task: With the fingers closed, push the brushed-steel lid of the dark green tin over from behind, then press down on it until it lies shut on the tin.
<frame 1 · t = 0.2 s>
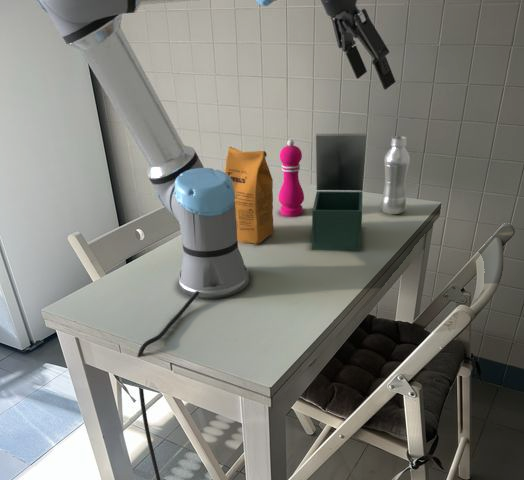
hand: (375, 80, 122), 35 cm above the table, tool tilted 30°, fingers open, 13 cm apart
pepper mill: (291, 213, 152), on the table
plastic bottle: (392, 213, 148), on the table
tin: (336, 238, 135), on the table
coffee package: (249, 236, 139), on the table
lid: (340, 163, 129), point 17 cm above the table, hinge at 70.0°
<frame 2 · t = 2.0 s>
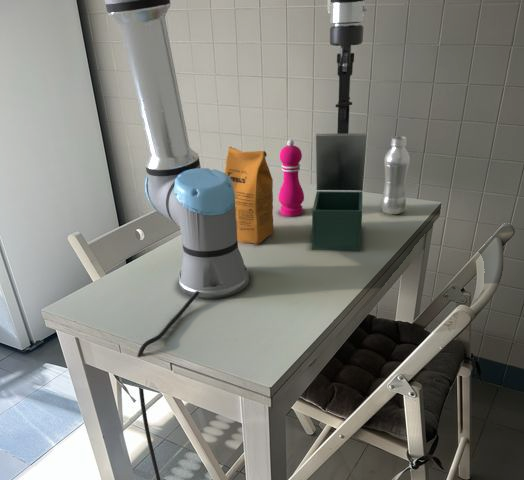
hand: (342, 134, 133), 22 cm above the table, tool pointing down, fingers closed
nothing on the table moved.
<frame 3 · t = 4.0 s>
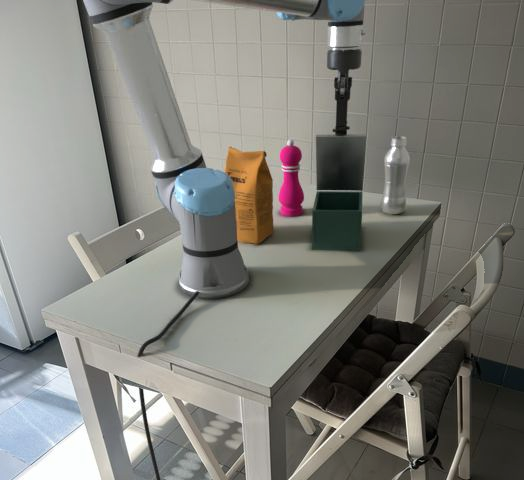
hand: (339, 159, 129), 18 cm above the table, tool pointing down, fingers closed
lid: (340, 163, 129), point 17 cm above the table, hinge at 68.4°, touching gripper
everything else where it was.
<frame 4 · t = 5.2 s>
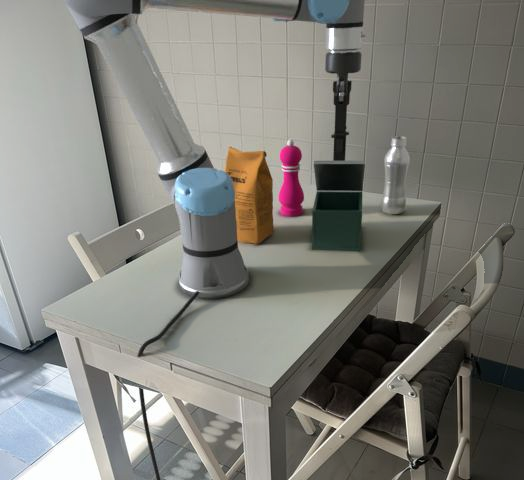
hand: (338, 165, 124), 18 cm above the table, tool pointing down, fingers closed
lid: (339, 176, 128), point 15 cm above the table, hinge at 40.0°
everything else where it was.
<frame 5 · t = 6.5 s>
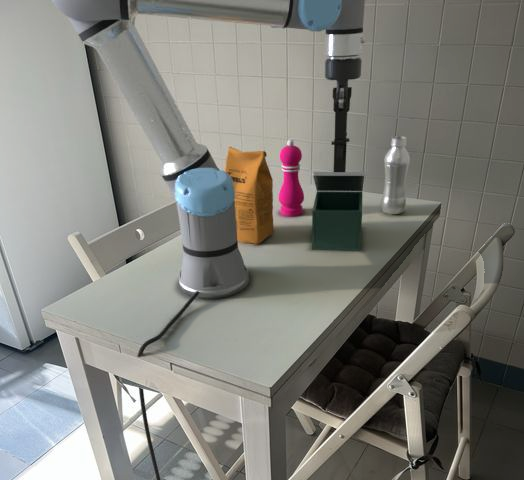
hand: (339, 172, 123), 17 cm above the table, tool pointing down, fingers closed
lid: (339, 182, 128), point 14 cm above the table, hinge at 30.0°
everything else where it was.
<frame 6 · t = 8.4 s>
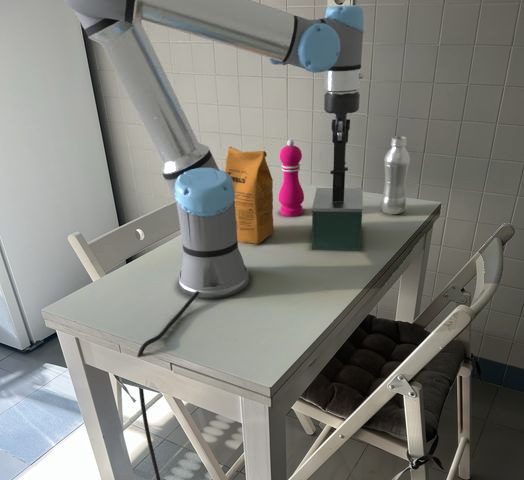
hand: (338, 200, 126), 11 cm above the table, tool pointing down, fingers closed
lid: (338, 199, 129), point 10 cm above the table, hinge at 0.1°, touching gripper
everything else where it was.
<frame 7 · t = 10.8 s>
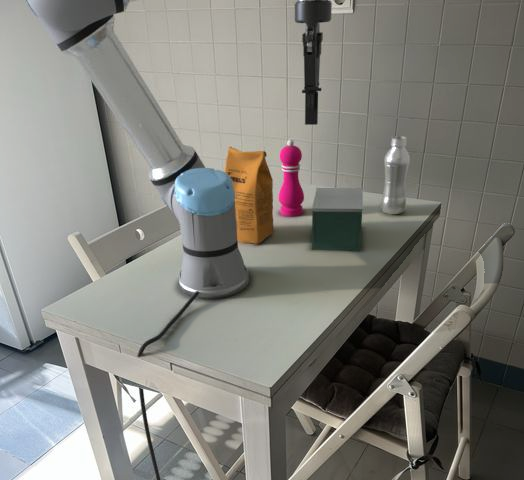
hand: (311, 123, 120), 28 cm above the table, tool pointing down, fingers closed
lid: (338, 199, 129), point 10 cm above the table, hinge at 0.1°
everything else where it was.
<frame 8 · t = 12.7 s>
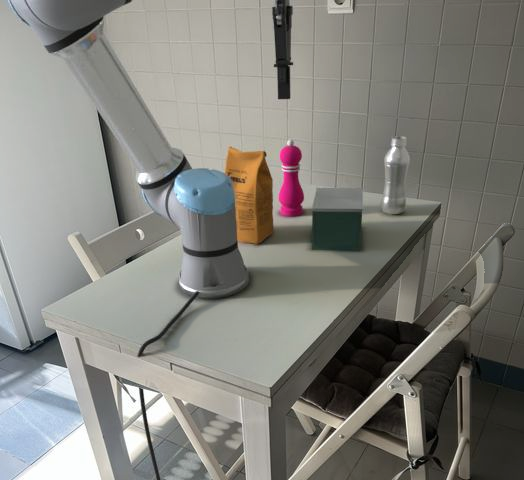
hand: (284, 98, 121), 32 cm above the table, tool pointing down, fingers closed
nothing on the table moved.
at the end: lid at +0° (first picture: +70°); the gripper is holding nothing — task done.
